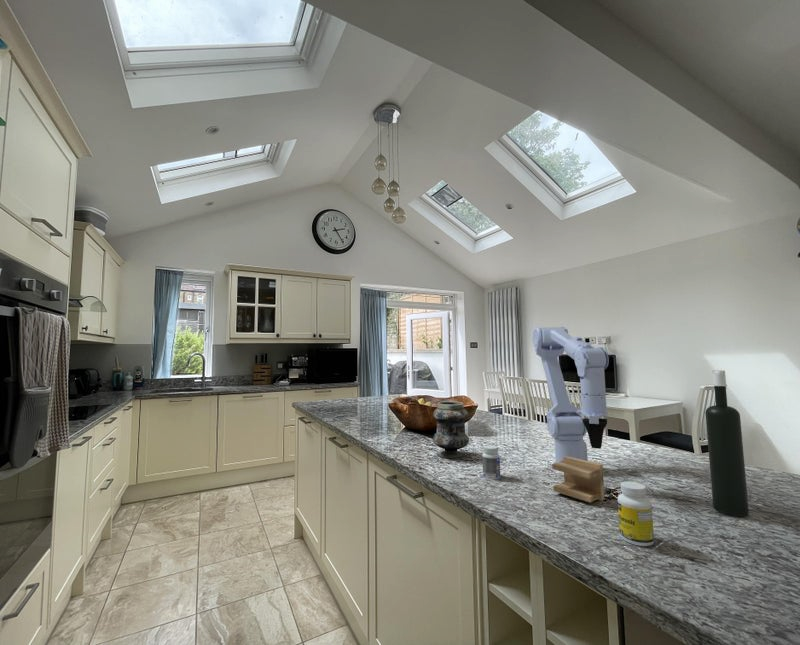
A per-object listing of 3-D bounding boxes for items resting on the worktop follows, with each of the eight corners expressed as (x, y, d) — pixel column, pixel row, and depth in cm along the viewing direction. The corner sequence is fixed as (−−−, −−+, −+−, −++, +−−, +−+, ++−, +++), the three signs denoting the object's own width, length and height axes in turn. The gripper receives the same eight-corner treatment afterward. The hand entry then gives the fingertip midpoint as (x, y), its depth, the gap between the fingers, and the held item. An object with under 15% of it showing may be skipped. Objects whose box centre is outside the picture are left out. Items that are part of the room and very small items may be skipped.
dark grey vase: (472, 461, 118) (470, 404, 120) (434, 462, 118) (433, 405, 120) (466, 451, 130) (464, 399, 132) (432, 452, 131) (431, 400, 132)
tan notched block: (553, 494, 90) (568, 488, 94) (590, 506, 83) (604, 499, 87) (552, 460, 91) (566, 456, 95) (588, 469, 84) (602, 464, 88)
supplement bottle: (613, 533, 71) (610, 480, 72) (639, 531, 71) (636, 479, 72) (633, 548, 65) (629, 490, 66) (662, 546, 66) (658, 489, 67)
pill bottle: (501, 480, 100) (499, 449, 101) (483, 480, 101) (482, 448, 102) (499, 475, 105) (498, 444, 106) (482, 474, 106) (481, 444, 107)
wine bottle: (752, 518, 76) (738, 371, 78) (715, 512, 79) (704, 370, 81) (745, 508, 81) (732, 369, 83) (711, 503, 84) (699, 369, 86)
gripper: (577, 390, 104) (580, 440, 103) (574, 396, 92) (577, 452, 91) (606, 391, 101) (609, 442, 100) (606, 397, 88) (610, 456, 87)
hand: (596, 447), depth 95 cm, fingers closed
